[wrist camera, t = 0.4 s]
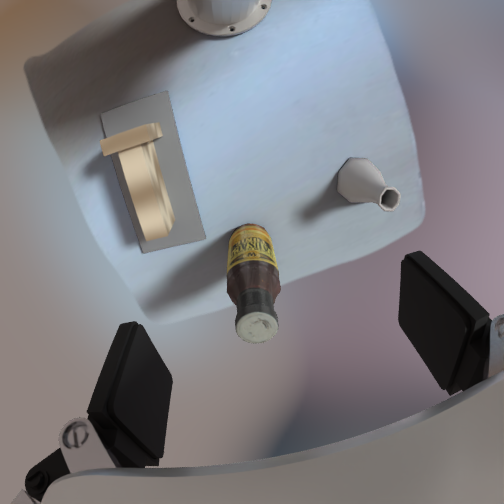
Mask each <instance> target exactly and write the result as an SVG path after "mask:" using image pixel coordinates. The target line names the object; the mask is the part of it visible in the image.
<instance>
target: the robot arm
mask: <svg viewBox="0 0 504 504" xmlns="http://www.w3.org/2000/svg"><path fill="white" fill-rule="evenodd" d="M271 2H272V0H177V8H178V11H179V14H180V15H181V17H182V19H183V20H184V21H185V22H186V24H188V25H189V26H190V27H191V28H193V29H195V30H196V31H198V32H200V33H204V34H207V35H212V36H232V35H237V34H241V33H244V32H246V31H248V30H250V29H252V28H254V27H255V26H256V25H258V24H259V23H260V22H261V21H262V20H263V19H264V18H265V16H266V15H267V13H268V11H269V9H270V6H271ZM262 7H264V8H265V9H262ZM191 20H194V22H191ZM231 29H233V30H234V31H233V32H231V31H230V30H231ZM398 316H399V317H398V320H399V325H400V327H401V328H402V330H403V331H404V333H405V334H406V336H407V337H408V339H409V340H410V341H411V343H412V344H413V346H414V347H415V349H416V350H417V352H418V353H419V355H420V356H421V358H422V359H423V361H424V362H425V364H426V365H427V367H428V369H429V370H430V372H431V373H432V375H433V376H434V378H435V380H436V381H437V383H438V384H439V386H440V387H441V389H443V390H445V389H446V390H447V392H448V394H449V395H450V396H451V395H452V394H454V393H456V392H458V391H460V390H462V391H463V392H461V393H459V394H457V395H455V396H453V397H451V398H449V399H447V400H445V401H443V402H441V403H439V404H437V405H435V406H432V407H430V408H428V409H426V410H424V411H422V412H419V413H417V414H415V415H412V416H411V417H408V418H405V419H403V420H401V421H398V422H395V423H393V424H390V425H388V426H385V427H382V428H380V429H377V430H374V431H372V432H368V433H365V434H362V435H359V436H356V437H353V438H350V439H347V440H343V441H340V442H336V443H333V444H330V445H326V446H322V447H318V448H314V449H310V450H306V451H302V452H297V453H292V454H288V455H283V456H278V457H273V458H266V459H260V460H254V461H248V462H240V463H233V464H223V465H213V466H200V467H182V468H181V467H180V468H145V466H159V458H162V457H163V454H164V444H165V436H166V428H167V419H168V412H169V405H170V397H171V390H172V384H173V381H172V375H171V374H170V372H169V370H168V368H167V367H166V365H165V363H164V362H163V360H162V358H161V357H160V355H159V353H158V352H157V350H156V348H155V346H154V345H153V343H152V342H151V339H150V338H149V336H148V334H147V332H146V330H145V329H144V327H143V326H142V325H141V324H138V323H137V322H135V321H133V322H128V323H123V324H120V326H119V328H118V330H117V333H116V335H115V337H114V340H113V343H112V345H111V347H110V350H109V352H108V355H107V357H106V360H105V362H104V365H103V368H102V370H101V373H100V376H99V378H98V381H97V384H96V387H95V389H94V392H93V395H92V398H91V401H90V404H89V407H88V410H87V413H88V414H89V415H88V419H86V418H81V417H79V418H74V419H72V420H70V421H69V422H68V423H66V424H65V425H64V427H63V428H62V430H61V432H60V434H59V445H60V448H59V449H57V450H56V451H55V452H54V453H52V454H51V455H49V456H48V457H47V458H45V459H44V460H42V461H41V462H39V463H38V464H37V465H35V466H34V467H33V468H32V469H30V470H29V472H28V474H27V476H26V479H25V487H26V491H25V490H23V489H22V490H21V491H20V492H19V494H18V495H17V496H16V498H15V499H14V500H13V501H12V503H11V504H504V314H502V315H499V316H497V317H496V318H494V319H493V321H492V320H491V319H490V318H489V313H488V312H487V311H486V310H485V309H484V308H483V307H482V306H481V305H480V304H479V303H478V302H477V301H476V300H475V299H474V298H473V297H472V296H471V295H470V294H469V293H467V291H466V290H464V289H463V288H462V287H461V286H460V285H459V284H458V283H457V282H456V281H455V280H454V279H453V278H451V277H450V276H449V275H448V274H447V273H446V272H445V271H444V270H442V269H441V268H440V267H439V266H438V265H437V264H436V263H435V262H433V261H432V260H431V259H430V258H429V257H428V256H426V255H425V254H424V253H423V252H422V251H417V252H413V253H410V254H407V255H405V258H404V260H402V262H401V282H400V301H399V315H398Z"/></svg>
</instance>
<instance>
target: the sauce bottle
mask: <svg viewBox="0 0 504 504" xmlns="http://www.w3.org/2000/svg"><path fill="white" fill-rule="evenodd" d="M280 290H281V286H280V281H279V271H278V267H277V263H276V258H275V254H274V249H273V245H272V241H271V238H270V236H269V235H268V233H267V231H266V230H265V229H264V228H263V227H261V226H259V225H256V224H249V223H248V224H245V225H242V226H240V227H239V228H237V229H235V231H234V233H233V234H232V236H231V238H230V241H229V250H228V262H227V293H228V295H229V297H230V298H231V300H232V302H233V303H234V304H235V305H236V306H237V316H236V320H235V326H236V332H237V334H238V336H239V337H240V338H241V339H243V340H244V341H246V342H249V343H264V342H266V341H268V340H270V339H271V338H272V337H274V336H275V334H276V333H277V330H278V319H277V318H278V317H277V314H276V312H275V311H274V306H273V304H274V303H275V299H276V297H277V295H278V294H279V293H280Z"/></svg>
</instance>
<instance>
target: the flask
mask: <svg viewBox="0 0 504 504" xmlns="http://www.w3.org/2000/svg"><path fill="white" fill-rule="evenodd" d="M337 192H339V193H340V194H341V195H342V196H343V197H344V198H346V199H347V200H348V201H349V202H364V203H369V202H373V203H376V204H378V205H379V206H380V207H381V208H382V209H383V210H384V211H394V210H395V209H396V207H397V206H398V205H399V203H400V196H401V194H400V193H399V192H398V191H397V189H396V188H395V187H388V186H387V185H386V183H385V181H384V179H383V177H382V175H381V172H380V170H379V169H378V168H377V167H376V166H375V165H374V164H372V163H371V162H370V161H369V160H368V159H365V158H349V160H348V161H347V162H346V163H345V165H344V166H343V167H342V168H341V170H340V171H339V172H338V186H337Z"/></svg>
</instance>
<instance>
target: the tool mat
mask: <svg viewBox="0 0 504 504" xmlns="http://www.w3.org/2000/svg"><path fill="white" fill-rule="evenodd" d="M100 115H101V119H102V123H103V127H104V131H105V135H106V138H108V137H111V136H113V135H116V134H119V133H122V132H124V131H127V130H130V129H133V128H136V127H139V126H142V125H145V124H151V123H158V122H159V123H160V127H161V131H162V135H163V136H162V137H159V138H156V139H153V143H154V147H155V151H156V154H157V158H158V162H159V165H160V169H161V173H162V176H163V180H164V183H165V187H166V190H167V194H168V197H169V200H170V204H171V207H172V210H173V214H174V217H175V221H174V224H173V226H172V228H171V230H170V232H169V235H168V236H166V237H162V238H158V239H154V240H150V241H146V239H145V236H144V233H143V230H142V227H141V224H140V222H139V219H138V216H137V213H136V210H135V207H134V204H133V201H132V197H131V194H130V191H129V188H128V185H127V182H126V178H125V175H124V172H123V168H122V165H121V161H120V158H119V154H118V152H115V153H112V154H111V157H112V160H113V164H114V167H115V170H116V174H117V177H118V180H119V184H120V187H121V190H122V193H123V196H124V199H125V202H126V205H127V208H128V211H129V214H130V217H131V220H132V223H133V226H134V229H135V231H136V234H137V237H138V240H139V242H140V245H141V248H142V250H143V253H148V252H152V251H156V250H161V249H165V248H169V247H173V246H178V245H182V244H186V243H191V242H195V241H200V240H204V239H206V236H205V232H204V229H203V225H202V222H201V218H200V215H199V211H198V207H197V204H196V200H195V197H194V193H193V189H192V185H191V182H190V178H189V174H188V170H187V166H186V163H185V159H184V155H183V151H182V147H181V143H180V139H179V135H178V131H177V127H176V123H175V119H174V115H173V110H172V106H171V102H170V98H169V93H168V91H164V92H161V93H158V94H154V95H151V96H148V97H145V98H142V99H139V100H136V101H134V102H131V103H128V104H125V105H122V106H120V107H117V108H115V109H112V110H109V111H107V112H104V113H102V114H100Z"/></svg>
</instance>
